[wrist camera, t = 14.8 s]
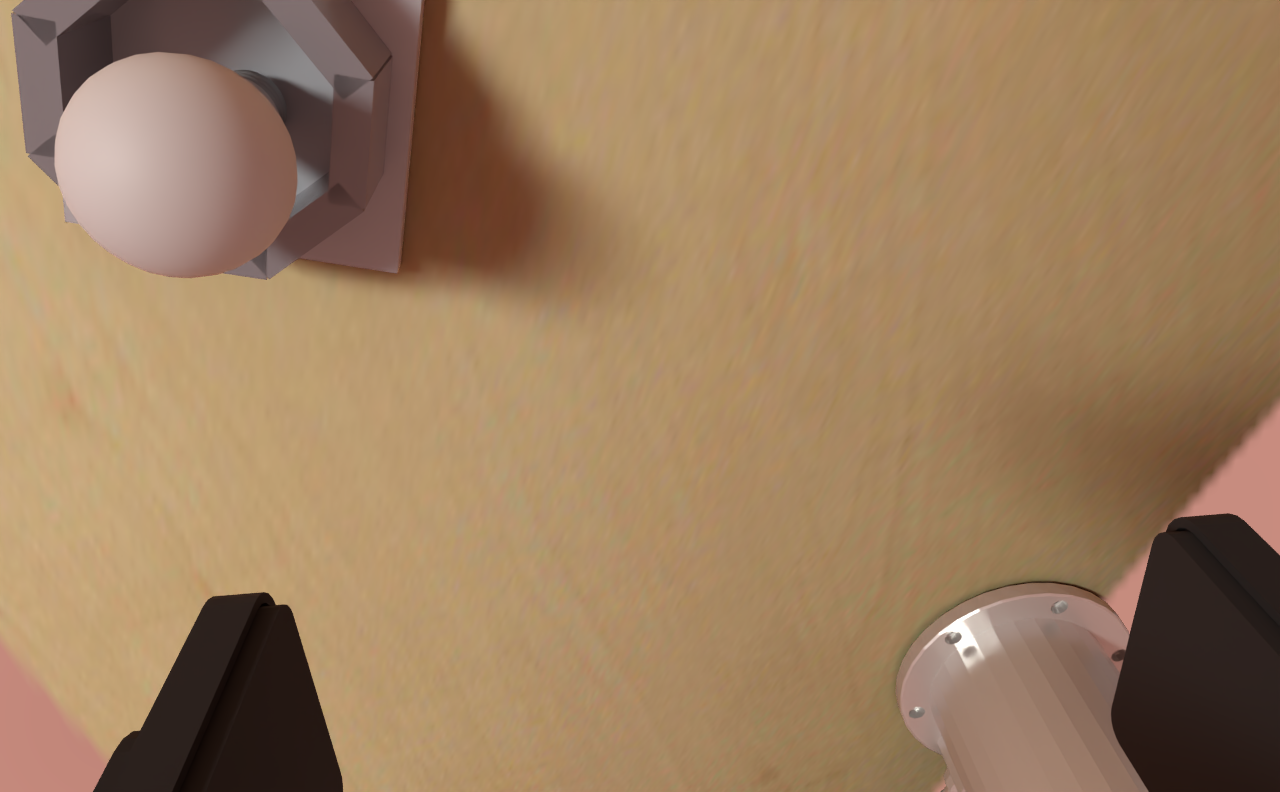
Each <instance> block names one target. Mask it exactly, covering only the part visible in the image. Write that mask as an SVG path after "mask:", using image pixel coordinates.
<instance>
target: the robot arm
mask: <svg viewBox="0 0 1280 792" xmlns="http://www.w3.org/2000/svg"><path fill="white" fill-rule="evenodd" d="M896 697H897V702H898V707H899V710H900V712H901V715H902V717H903V719H904V722H905V724H906V726H907V728H908V729H909V731H910V732H911V733H912V735H913V736H914V737H915V738H916V739H917V740H918V741H919V742H920V743H922V744H923V745H924V746H925V747H927V748H928V749H930V750H932V751H934V752H936V753H938V754H940V755H942V756H943V758H944V761H945V763H946V765H947V769H946V771H945V774H944V780H945V784H946V787H945V789H943V790H942V791H941V792H1280V555H1279V554H1278V553H1277V552H1276V551H1275V550H1274V549H1273V548H1272V547H1270V545H1268V544H1267V542H1265V541H1264V540H1263V539H1262V538H1261V537H1260V536H1259V535H1258V534H1257V533H1256V532H1255V531H1254V530H1253V529H1252V528H1251V527H1250V526H1249V525H1248V524H1247V523H1246V522H1245V521H1244V520H1242V519H1241V518H1240V517H1238V516H1236V515H1233V514H1217V515H1206V516H1205V515H1204V516H1192V517H1180V518H1177V519H1174V520H1173V521H1172V522H1171V523H1170V524H1169V525H1168V528H1167V530H1166V532H1163V533H1159V534H1158V535H1157V536H1156V537H1155V539H1154V541H1153V544H1152V547H1151V551H1150V555H1149V559H1148V563H1147V567H1146V572H1145V575H1144V579H1143V583H1142V587H1141V592H1140V595H1139V600H1138V603H1137V608H1136V611H1135V615H1134V619H1133V623H1132V627H1131V631H1130V635H1129V632H1128V630H1127V628H1126V627H1125V625H1124V624H1123V622H1122V621H1121V620H1120V618H1119V616H1118V615H1117V614H1116V613H1115V611H1114V610H1113V609H1112V608H1111V607H1110V606H1109V605H1108V604H1107V603H1106V602H1105V601H1103V600H1102V599H1100V598H1099V597H1097V596H1095V595H1094V594H1092V593H1090V592H1088V591H1085V590H1082V589H1079V588H1077V587H1074V586H1068V585H1062V584H1056V583H1027V584H1020V585H1014V586H1007V587H1003V588H1000V589H996V590H993V591H990V592H986V593H983V594H981V595H979V596H976V597H974V598H972V599H970V600H967V601H965V602H963V603H961V604H959V605H958V606H956V607H954V608H953V609H951V610H950V611H948V612H946V613H945V614H943V615H942V616H941V617H939V618H938V619H937V620H936V621H935V622H933V623H932V624H931V625H930V626H929V627H927V628H926V629H925V630H924V631H923V632H922V634H921V635H920V636H919V637H918V638H917V639H916V641H915V642H914V643H913V644H912V645H911V647H910V649H909V650H908V652H907V654H906V655H905V657H904V659H903V661H902V663H901V666H900V669H899V672H898V675H897V681H896ZM93 792H343V783H342V776H341V772H340V769H339V765H338V762H337V759H336V755H335V752H334V749H333V745H332V742H331V739H330V735H329V732H328V729H327V725H326V722H325V719H324V716H323V712H322V709H321V706H320V702H319V699H318V696H317V692H316V689H315V686H314V682H313V679H312V676H311V672H310V669H309V666H308V662H307V659H306V656H305V653H304V649H303V646H302V643H301V639H300V636H299V633H298V629H297V626H296V623H295V619H294V616H293V613H292V611H291V609H290V607H289V606H288V605H275V602H274V600H273V598H272V597H271V596H270V595H269V593H264V592H263V593H250V594H238V595H226V596H214V597H212V598H210V599H208V600H207V602H206V603H205V605H204V606H203V608H202V610H201V612H200V614H199V616H198V618H197V620H196V622H195V624H194V626H193V628H192V630H191V632H190V634H189V636H188V638H187V639H186V641H185V643H184V645H183V647H182V649H181V651H180V653H179V655H178V657H177V659H176V661H175V663H174V665H173V667H172V669H171V671H170V673H169V675H168V677H167V679H166V681H165V683H164V685H163V687H162V689H161V691H160V693H159V695H158V697H157V699H156V701H155V703H154V705H153V707H152V709H151V711H150V713H149V715H148V717H147V718H146V720H145V722H144V724H143V726H142V728H141V730H140V731H133V732H132V733H130V734H129V735H128V736H126V737H125V738H124V739H123V740H122V741H121V742H120V744H119V745H118V747H117V748H116V750H115V751H114V753H113V755H112V757H111V758H110V760H109V762H108V764H107V766H106V768H105V770H104V772H103V774H102V776H101V778H100V779H99V782H98V784H97V785H96V787H95V789H94V791H93Z"/></svg>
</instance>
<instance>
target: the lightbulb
mask: <svg viewBox="0 0 1280 792" xmlns="http://www.w3.org/2000/svg"><path fill="white" fill-rule="evenodd" d="M286 117H287V107H286V103H285V99H284V97H283V95H282V93H281V91H280V90H279V89H278V87H277V86H276V85H275V84H274V83H273V82H272V81H271V80H270V79H268V78H267V77H265V76H264V75H262V74H260V73H258V72H254V71H251V70H234V71H233V70H231V69H228V68H226V67H224V66H222V65H220V64H218V63H216V62H214V61H211V60H208V59H204V58H200V57H197V56H193V55H188V54H177V53H165V52H153V53H145V54H136V55H133V56H130V57H127V58H124V59H121V60H119V61H116V62H114V63H112V64H110V65H108V66H106V67H104V68H103V69H101V70H100V71H98V72H97V73H95V74H94V75H92V76H90V77H89V78H88V79H87V80H86V81H85V82H84V83H83V84H82V86H81V87H80V88H79V89H78V90H77V91H76V92H75V93H74V95H73V96H72V98H71V99H70V101H69V103H68V105H67V107H66V109H65V110H64V112H63V114H62V116H61V118H60V122H59V126H58V130H57V134H56V139H55V163H54V165H55V170H56V175H57V180H58V185H59V188H60V190H61V192H62V195H63V197H64V200H65V202H66V204H67V206H68V208H69V209H70V211H71V212H72V214H73V215H74V217H75V219H76V220H77V222H78V223H79V224H80V225H81V227H82V228H83V229H84V230H85V231H86V232H87V233H88V234H89V235H90V237H91V238H92V239H93V240H94V241H96V242H97V243H98V244H99V245H101V246H102V247H103V248H104V249H106V250H107V251H108V252H109V253H111V254H112V255H114V256H116V257H117V258H119V259H121V260H122V261H124V262H126V263H128V264H129V265H132V266H134V267H137V268H139V269H142V270H144V271H147V272H150V273H154V274H159V275H163V276H168V277H179V278H195V277H203V276H211V275H218V274H221V273H224V272H227V271H230V270H233V269H236V268H238V267H240V266H241V265H243V264H245V263H247V262H248V261H250V260H252V259H253V258H255V257H257V256H259V255H260V254H261V253H262V252H263V251H264V250H265V249H267V248H268V247H269V246H270V245H271V244H272V243H273V242H274V241H275V239H276V238H277V236H278V235H279V233H280V232H281V230H282V229H283V227H284V226H285V224H286V223H287V221H288V219H289V217H290V214H291V211H292V209H293V206H294V203H295V198H296V191H297V183H298V180H297V164H296V154H295V151H294V147H293V144H292V140H291V137H290V134H289V132H288V130H287V128H286V126H285V122H286Z"/></svg>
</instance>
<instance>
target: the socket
mask: <svg viewBox="0 0 1280 792" xmlns="http://www.w3.org/2000/svg"><path fill="white" fill-rule="evenodd" d="M424 2H425V0H23V1H22V2H21V3H20V4H19V5H18V6H16V7H15V8H14V9H13V11H14V12H13V13H11V16H12V25H13V35H14V44H15V53H16V63H17V72H18V82H19V91H20V100H21V110H22V119H23V129H24V138H25V147H26V153H29V154H30V155H28V157H29V158H30V159H31V160H32V161H33V162H34V163H35V164H36V165H37V166H38V167H39V168H41V169H42V170H43V171H44V172H45V173H46V174H47V175H48V176H49V177H50V178H51V179H52V180H53V181H54V182H55V183H56V184H57V185H58V180H57V175H56V170H55V165H54V163H55V139H56V134H57V130H58V126H59V122H60V118H61V116H62V114H63V112H64V110H65V109H66V107H67V105H68V103H69V101H70V99H71V98H72V96H73V95H74V93H75V92H76V91H77V90H78V89H79V88H80V87H81V86H82V84H83V83H84V82H85V81H86V80H87V79H88V78H89V77H90V76H92V75H94V74H95V73H97V72H98V71H100V70H101V69H103V68H104V67H106V66H108V65H110V64H112V63H114V62H116V61H119V60H121V59H124V58H127V57H130V56H133V55H136V54H145V53H153V52H165V53H177V54H188V55H193V56H197V57H200V58H204V59H208V60H211V61H214V62H216V63H218V64H220V65H222V66H224V67H226V68H228V69H231V70H233V71H234V70H251V71H254V72H258V73H260V74H262V75H264V76H265V77H267V78H268V79H270V80H271V81H272V82H273V83H274V84H275V85H276V86H277V87H278V89H279V90H280V91H281V93H282V95H283V97H284V99H285V103H286V107H287V117H286V122H285V126H286V128H287V130H288V132H289V134H290V137H291V140H292V144H293V147H294V151H295V154H296V164H297V180H298V183H297V191H296V198H295V203H294V206H293V209H292V211H291V214H290V217H289V219H288V221H287V223H286V224H285V226H284V227H283V229H282V230H281V232H280V233H279V235H278V236H277V238H276V239H275V241H274V242H273V243H272V244H271V245H270V246H269V247H268V248H267V249H265V250H264V251H263V252H262V253H261V254H260V255H259V256H257V257H255V258H253V259H252V260H250V261H248V262H247V263H245V264H243V265H241V266H240V267H238V268H236V269H233V270H230V271H227V272H224V273H225V274H232V275H238V276H245V277H252V278H258V279H265V280H267V278H269V279H270V278H272V277H273V276H274V275H276V274H277V273H279V272H280V271H281V270H283V269H284V268H286V267H287V266H288V265H290V264H291V263H293V262H294V261H295V260H297V259H298V258H301V259H307V260H314V261H320V262H327V263H333V264H339V265H346V266H352V267H359V268H365V269H371V270H378V271H384V272H391V273H398V270H399V268H400V265H401V258H402V247H403V236H404V225H405V213H406V202H407V191H408V180H409V169H410V158H411V147H412V136H413V125H414V113H415V102H416V91H417V80H418V69H419V58H420V47H421V36H422V25H423V13H424ZM58 186H59V185H58ZM63 202H64V214H65V222H71V223H77V224H79V223H78V222H77V220H76V219H75V217H74V215H73V214H72V212H71V211H70V209H69V208H68V206H67V204H66V202H65V200H64V197H63Z"/></svg>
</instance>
